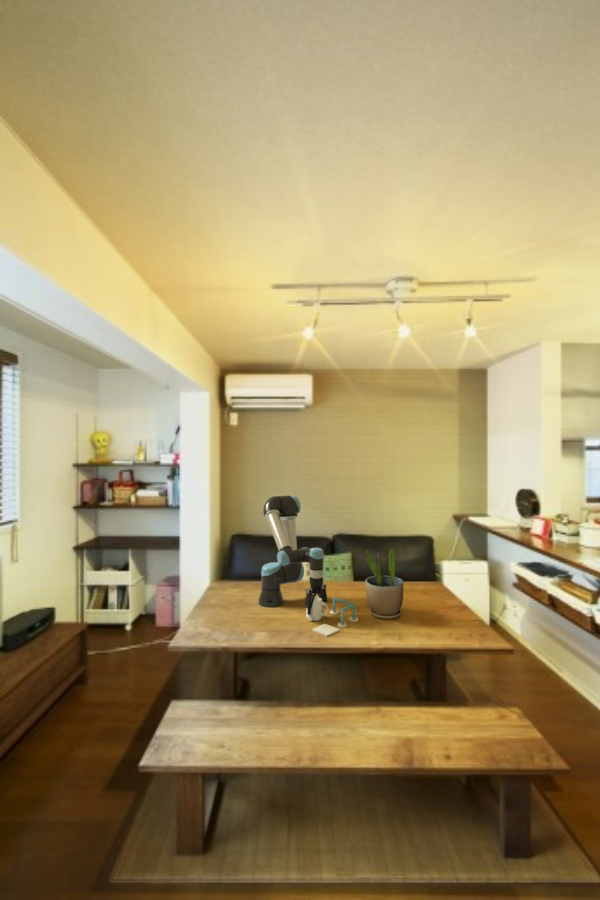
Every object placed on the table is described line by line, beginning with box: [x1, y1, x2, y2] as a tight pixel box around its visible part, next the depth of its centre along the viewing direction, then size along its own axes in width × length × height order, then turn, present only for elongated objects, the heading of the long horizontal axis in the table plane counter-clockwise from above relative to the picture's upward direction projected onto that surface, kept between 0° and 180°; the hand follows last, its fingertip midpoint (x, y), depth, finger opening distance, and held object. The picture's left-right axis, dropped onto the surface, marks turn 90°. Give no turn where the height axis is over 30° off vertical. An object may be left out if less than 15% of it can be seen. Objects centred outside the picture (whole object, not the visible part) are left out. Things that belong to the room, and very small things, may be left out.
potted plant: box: [365, 548, 404, 620], centre depth 231 cm, size 21×22×40 cm
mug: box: [305, 595, 329, 622], centre depth 225 cm, size 9×12×11 cm
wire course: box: [329, 596, 359, 629], centre depth 224 cm, size 19×15×9 cm
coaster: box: [311, 623, 340, 638], centre depth 209 cm, size 10×10×1 cm
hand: (316, 617), depth 224 cm, fingers closed on mug, 9 cm apart
